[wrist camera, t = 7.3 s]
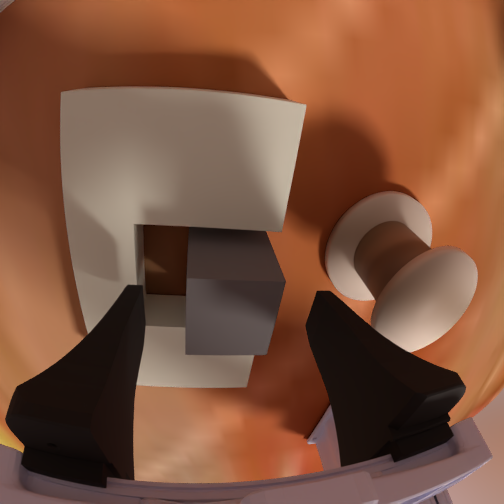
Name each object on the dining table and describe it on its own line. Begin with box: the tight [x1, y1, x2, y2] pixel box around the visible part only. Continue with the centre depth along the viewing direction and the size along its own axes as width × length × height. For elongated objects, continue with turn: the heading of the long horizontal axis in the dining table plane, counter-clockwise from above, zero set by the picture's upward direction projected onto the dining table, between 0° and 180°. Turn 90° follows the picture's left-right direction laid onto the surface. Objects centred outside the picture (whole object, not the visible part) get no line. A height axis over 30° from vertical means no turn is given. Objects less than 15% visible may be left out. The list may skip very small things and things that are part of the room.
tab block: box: [185, 227, 286, 355], centre depth 14 cm, size 4×4×5 cm
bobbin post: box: [325, 191, 478, 352], centre depth 15 cm, size 7×7×6 cm
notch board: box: [60, 86, 306, 388], centre depth 15 cm, size 16×9×2 cm, turn 172°
